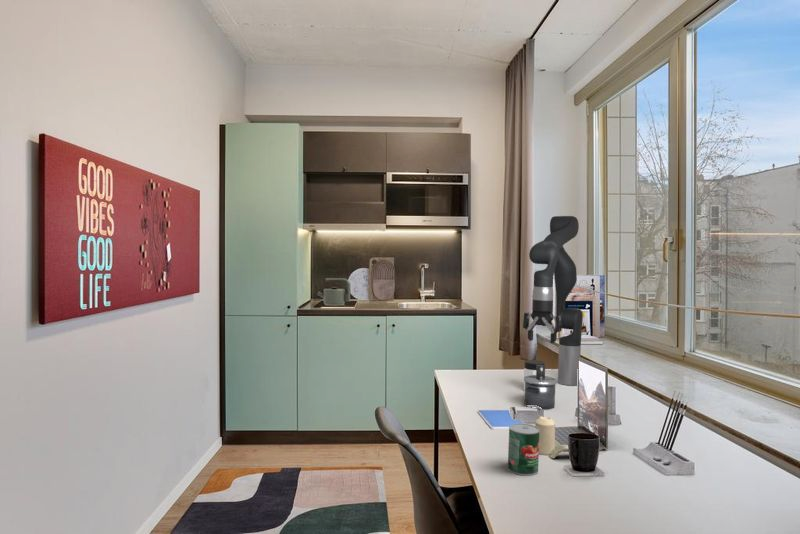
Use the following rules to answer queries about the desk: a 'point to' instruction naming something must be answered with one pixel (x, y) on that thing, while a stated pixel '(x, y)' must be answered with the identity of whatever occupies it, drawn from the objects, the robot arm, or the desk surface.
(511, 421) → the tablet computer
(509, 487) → the desk surface
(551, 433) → the candle
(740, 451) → the desk surface
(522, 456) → the canned tomato
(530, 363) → the jar
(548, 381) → the lid
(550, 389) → the pot
